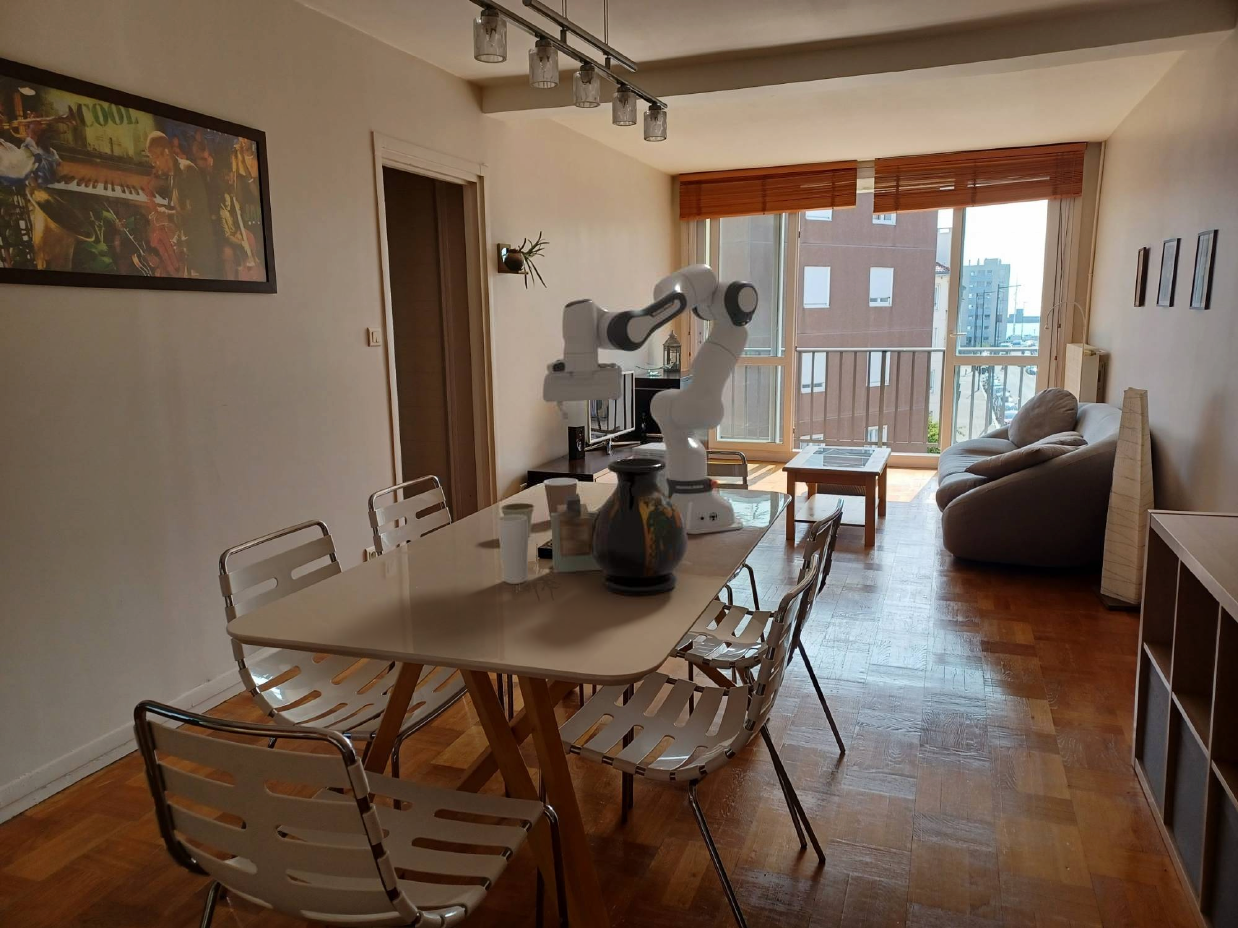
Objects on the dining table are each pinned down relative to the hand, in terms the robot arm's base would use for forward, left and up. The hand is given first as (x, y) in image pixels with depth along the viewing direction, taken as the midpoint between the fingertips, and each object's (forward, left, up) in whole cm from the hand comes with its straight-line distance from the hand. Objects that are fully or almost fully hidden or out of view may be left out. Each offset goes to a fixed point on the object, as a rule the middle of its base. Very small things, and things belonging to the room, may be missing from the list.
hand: (583, 418), depth 220 cm
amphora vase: (-9, +36, -34) cm, 51 cm away
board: (+2, +19, -34) cm, 39 cm away
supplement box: (-29, -57, -34) cm, 73 cm away
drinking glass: (+19, +27, -34) cm, 48 cm away
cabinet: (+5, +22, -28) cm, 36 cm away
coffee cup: (+5, -32, -34) cm, 47 cm away
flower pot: (+18, -15, -34) cm, 42 cm away
